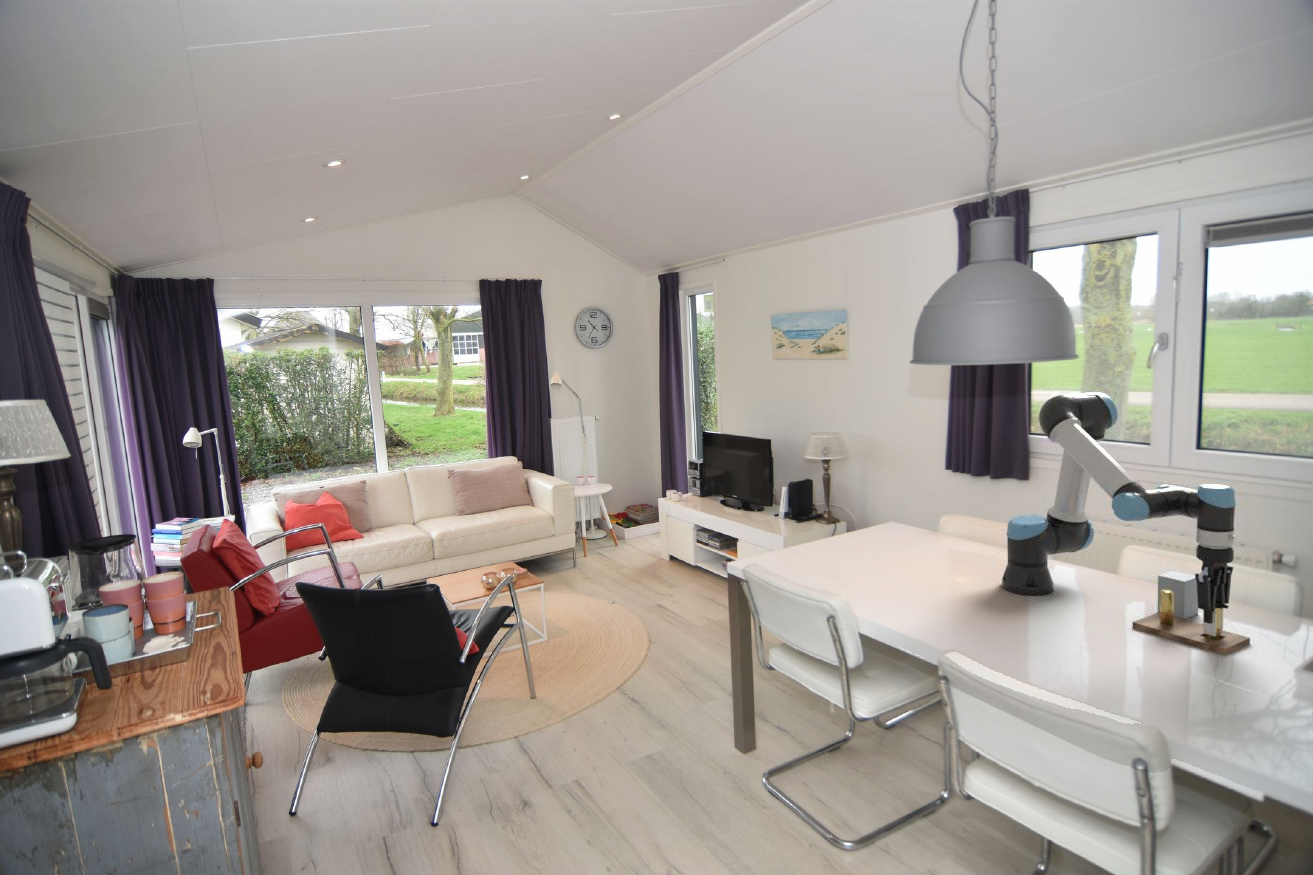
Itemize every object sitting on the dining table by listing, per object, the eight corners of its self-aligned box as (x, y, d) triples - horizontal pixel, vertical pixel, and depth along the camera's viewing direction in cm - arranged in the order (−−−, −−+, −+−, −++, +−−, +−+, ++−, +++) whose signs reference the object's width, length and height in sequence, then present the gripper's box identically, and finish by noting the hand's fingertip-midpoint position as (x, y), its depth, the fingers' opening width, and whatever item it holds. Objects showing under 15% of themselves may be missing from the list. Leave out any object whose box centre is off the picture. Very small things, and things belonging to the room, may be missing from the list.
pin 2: (1203, 640, 184) (1204, 607, 183) (1209, 637, 186) (1210, 604, 185) (1216, 643, 182) (1217, 610, 181) (1222, 641, 183) (1223, 607, 182)
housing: (1157, 611, 205) (1158, 575, 204) (1171, 606, 208) (1171, 570, 207) (1184, 619, 199) (1185, 581, 198) (1198, 613, 202) (1198, 576, 201)
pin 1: (1157, 622, 194) (1158, 591, 193) (1163, 620, 195) (1164, 588, 194) (1169, 626, 191) (1170, 594, 190) (1175, 623, 193) (1176, 591, 192)
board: (1132, 627, 196) (1132, 621, 196) (1157, 617, 201) (1157, 612, 201) (1224, 655, 176) (1224, 648, 176) (1249, 643, 181) (1249, 637, 181)
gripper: (1215, 553, 174) (1213, 644, 177) (1248, 542, 181) (1245, 630, 183) (1181, 547, 181) (1180, 635, 183) (1214, 536, 187) (1212, 621, 190)
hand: (1212, 632), depth 183 cm, fingers closed on pin 2, 2 cm apart
